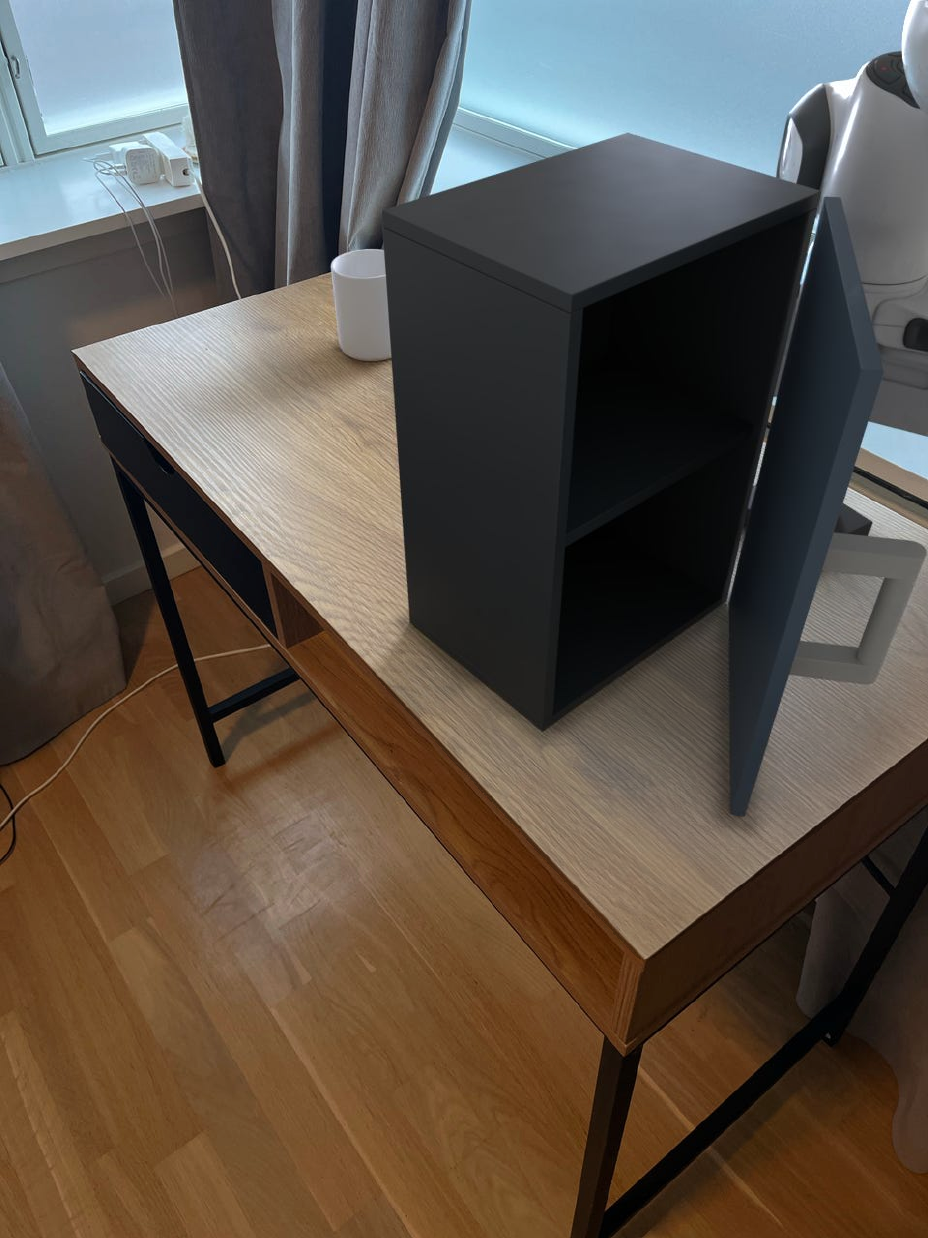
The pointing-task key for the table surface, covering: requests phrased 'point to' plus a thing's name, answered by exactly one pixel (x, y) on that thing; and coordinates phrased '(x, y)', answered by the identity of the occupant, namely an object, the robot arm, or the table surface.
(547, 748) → the table surface
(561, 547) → the cupboard
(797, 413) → the door
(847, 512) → the button box
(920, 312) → the robot arm
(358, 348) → the mug
